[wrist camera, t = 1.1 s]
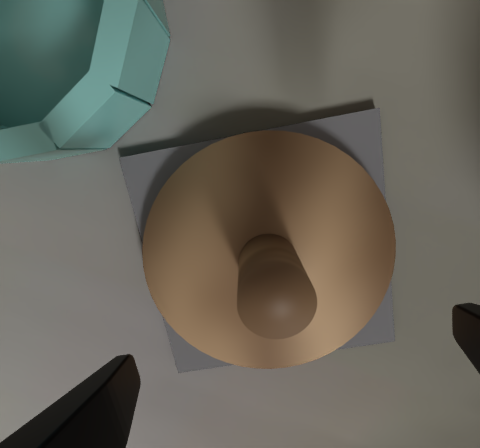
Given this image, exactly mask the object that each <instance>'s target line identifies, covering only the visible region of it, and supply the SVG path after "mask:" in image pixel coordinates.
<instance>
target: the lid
mask: <svg viewBox="0 0 480 448" xmlns="http://www.w3.org/2000/svg"><path fill="white" fill-rule="evenodd" d="M395 252H396V240H395V232H394V225H393V221H392V217H391V214H390V210H389V208H388V205H387V203H386V201H385V199H384V196H383V194H382V193H381V191H380V189H379V188H378V186H377V185H376V183H375V182H374V180H373V179H372V178H371V177H370V175H369V174H368V173H367V172H366V171H365V170H364V168H363V167H362V166H361V165H359V164H358V163H357V162H356V161H355V160H354V159H353V158H351V157H350V156H349V155H347V154H346V153H344V152H343V151H341V150H340V149H338V148H337V147H335V146H333V145H331V144H329V143H327V142H324V141H322V140H320V139H318V138H314V137H311V136H308V135H304V134H301V133H295V132H288V131H274V130H263V131H255V132H247V133H242V134H239V135H235V136H231V137H228V138H225V139H223V140H220V141H218V142H216V143H213V144H211V145H209V146H208V147H206V148H204V149H202V150H201V151H199V152H197V153H196V154H194V155H193V156H192V157H191V158H189V159H188V160H187V161H186V162H184V163H183V164H182V165H181V166H180V167H179V168H178V169H177V170H176V171H175V172H174V173H173V174H172V175H171V176H170V178H169V179H168V180H167V182H166V183H165V184H164V186H163V187H162V189H161V190H160V192H159V193H158V195H157V197H156V199H155V201H154V203H153V205H152V207H151V210H150V213H149V216H148V218H147V222H146V226H145V231H144V236H143V249H142V254H143V268H144V272H145V277H146V282H147V285H148V288H149V290H150V293H151V296H152V298H153V300H154V302H155V304H156V306H157V308H158V310H159V311H160V313H161V314H162V315H163V317H164V318H165V320H166V321H167V322H168V324H169V325H170V326H171V327H172V328H173V329H174V330H175V331H176V333H178V334H179V335H180V336H181V337H182V338H183V339H184V340H186V341H187V342H188V343H189V344H191V345H192V346H194V347H195V348H197V349H198V350H200V351H202V352H203V353H205V354H207V355H209V356H211V357H213V358H216V359H218V360H221V361H224V362H226V363H230V364H234V365H238V366H242V367H250V368H262V369H273V368H285V367H290V366H295V365H300V364H304V363H307V362H310V361H313V360H316V359H318V358H320V357H322V356H325V355H327V354H329V353H331V352H332V351H334V350H336V349H337V348H339V347H341V346H342V345H344V344H345V343H346V342H348V341H349V340H350V339H351V338H353V337H354V336H355V335H356V334H357V333H358V332H359V331H360V330H361V329H362V328H363V327H364V326H365V325H366V324H367V323H368V321H369V320H370V319H371V318H372V316H373V315H374V314H375V312H376V311H377V309H378V307H379V306H380V304H381V302H382V301H383V298H384V296H385V294H386V292H387V290H388V287H389V284H390V281H391V277H392V274H393V269H394V263H395Z"/></svg>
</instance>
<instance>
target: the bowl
mask: <svg viewBox="0 0 480 448" xmlns="http://www.w3.org/2000/svg"><path fill="white" fill-rule="evenodd" d="M168 36H170V32H169V27H168V22H167V18H166V13H165V8H164V4H163V0H0V164H3V163H17V162H31V161H46V160H54V159H60V158H65V157H70V156H75V155H80V154H85V153H90V152H96V151H101V150H106V149H107V148H110V147H111V146H112V145H113V144H114V143H115V142H116V141H117V140H118V139H119V138H120V137H121V136H122V135H124V134H125V133H126V132H127V131H128V130H129V129H130V128H131V127H132V126H133V125H134V124H135V123H136V122H137V121H138V120H139V119H140V118H141V117H142V116H143V115H144V114H145V113H146V112H147V111H148V110H149V109H150V108H151V106H150V105H149V103H151V104H153V103H154V100H155V96H156V92H157V88H158V85H159V81H160V77H161V73H162V69H163V66H164V62H165V58H166V54H167V51H168V47H169V43H170V38H169V37H168Z"/></svg>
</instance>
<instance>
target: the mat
mask: <svg viewBox="0 0 480 448" xmlns="http://www.w3.org/2000/svg"><path fill="white" fill-rule="evenodd" d="M266 130H274V131H288V132H295V133H301V134H304V135H308V136H311V137H314V138H318V139H320V140H322V141H324V142H327V143H329V144H331V145H333V146H335V147H337V148H338V149H340V150H341V151H343V152H344V153H346V154H347V155H349V156H350V157H351V158H353V159H354V160H355V161H356V162H357V163H358V164H359V165H361V166H362V167H363V168H364V170H365V171H366V172H367V173H368V174H369V175H370V177H371V178H372V179H373V180H374V182H375V183H376V185H377V186H378V188H379V189H380V191H381V193H382V194H383V196H384V199H385V201H386V198H385V183H384V168H383V153H382V138H381V123H380V108H375V109H370V110H365V111H359V112H354V113H349V114H344V115H339V116H333V117H328V118H323V119H318V120H313V121H307V122H302V123H297V124H292V125H287V126H281V127H276V128H271V129H266ZM261 131H263V130H261ZM230 137H231V136H230ZM225 138H228V137H224V138H219V139H214V140H209V141H204V142H198V143H193V144H188V145H183V146H178V147H172V148H167V149H162V150H157V151H152V152H146V153H141V154H136V155H131V156H126V157H120V158H119V160H120V164H121V167H122V171H123V175H124V178H125V182H126V186H127V189H128V193H129V196H130V200H131V204H132V207H133V211H134V215H135V218H136V222H137V225H138V229H139V233H140V236H141V240H142V243H143V236H144V231H145V226H146V222H147V218H148V216H149V213H150V210H151V207H152V205H153V203H154V201H155V199H156V197H157V195H158V193H159V192H160V190H161V189H162V187H163V186H164V184H165V183H166V182H167V180H168V179H169V178H170V176H171V175H172V174H173V173H174V172H175V171H176V170H177V169H178V168H179V167H180V166H181V165H182V164H183V163H184V162H186V161H187V160H188V159H189V158H191V157H192V156H193V155H194V154H196V153H197V152H199V151H201V150H202V149H204V148H206V147H208V146H209V145H211V144H213V143H216V142H218V141H220V140H223V139H225ZM162 316H163V315H162ZM163 320H164V323H165V327H166V330H167V334H168V338H169V341H170V345H171V349H172V352H173V356H174V359H175V363H176V367H177V370H178V373H181V372H188V371H195V370H202V369H209V368H215V367H222V366H229V365H234V364H230V363H226V362H224V361H221V360H218V359H216V358H213V357H211V356H209V355H207V354H205V353H203V352H202V351H200V350H198V349H197V348H195V347H194V346H192V345H191V344H189V343H188V342H187V341H186V340H184V339H183V338H182V337H181V336H180V335H179V334H178V333H176V331H175V330H174V329H173V328H172V327H171V326H170V325H169V324H168V322H167V321H166V320H165V318H164V317H163ZM392 341H395V334H394V319H393V304H392V289H391V281H390V284H389V287H388V290H387V292H386V294H385V296H384V298H383V301H382V302H381V304H380V306H379V307H378V309H377V311H376V312H375V314H374V315H373V316H372V318H371V319H370V320H369V321H368V323H367V324H366V325H365V326H364V327H363V328H362V329H361V330H360V331H359V332H358V333H357V334H356V335H355V336H354V337H353V338H351V339H350V340H349V341H348V342H346V343H345V344H344V345H342V346H341V347H339V348H337V349H336V350H338V349H345V348H352V347H358V346H365V345H372V344H379V343H386V342H392Z"/></svg>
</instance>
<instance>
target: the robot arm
mask: <svg viewBox="0 0 480 448" xmlns="http://www.w3.org/2000/svg"><path fill="white" fill-rule="evenodd" d="M452 327H453V336H454V338H455V340H456V342H457V343H458V345H459V346H460V347H461V349H462V350H463V352H464V353H465V354H466V356H467V357H468V358H469V360H470V361H471V363H472V364H473V365H474V367H475V368H476V369H477V371H478V372H479V374H480V305H477V304H473V303H464V304H458V305H455V306H454V307H453V309H452ZM139 389H140V376H139V373H138V369H137V366H136V363H135V360H134V357H133V356H132V355H130V354H127V355H120V356H116V357H115V358H114V359H112V360H111V361H110V362H108V363H107V364H106V365H104V366H103V367H102V368H100V369H99V370H97V371H96V372H95V373H93V374H92V375H91V376H89V377H88V378H87V379H85V380H84V381H83V382H81V383H80V384H79V385H77V386H76V387H75V388H73V389H72V390H71V391H69V392H68V393H67V394H65V395H64V396H62V397H61V398H60V399H58V400H57V401H56V402H54V403H53V404H52V405H50V406H49V407H48V408H46V409H45V410H44V411H42V412H41V413H40V414H38V415H37V416H36V417H34V418H33V419H32V420H30V421H29V422H28V423H26V424H25V425H23V426H22V427H21V428H19V429H18V430H17V431H15V432H14V433H13V434H11V435H10V436H9V437H7V438H6V439H5V440H3V441H2V442H1V443H0V448H126V444H127V441H128V437H129V433H130V429H131V424H132V420H133V416H134V411H135V407H136V403H137V398H138V394H139Z"/></svg>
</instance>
